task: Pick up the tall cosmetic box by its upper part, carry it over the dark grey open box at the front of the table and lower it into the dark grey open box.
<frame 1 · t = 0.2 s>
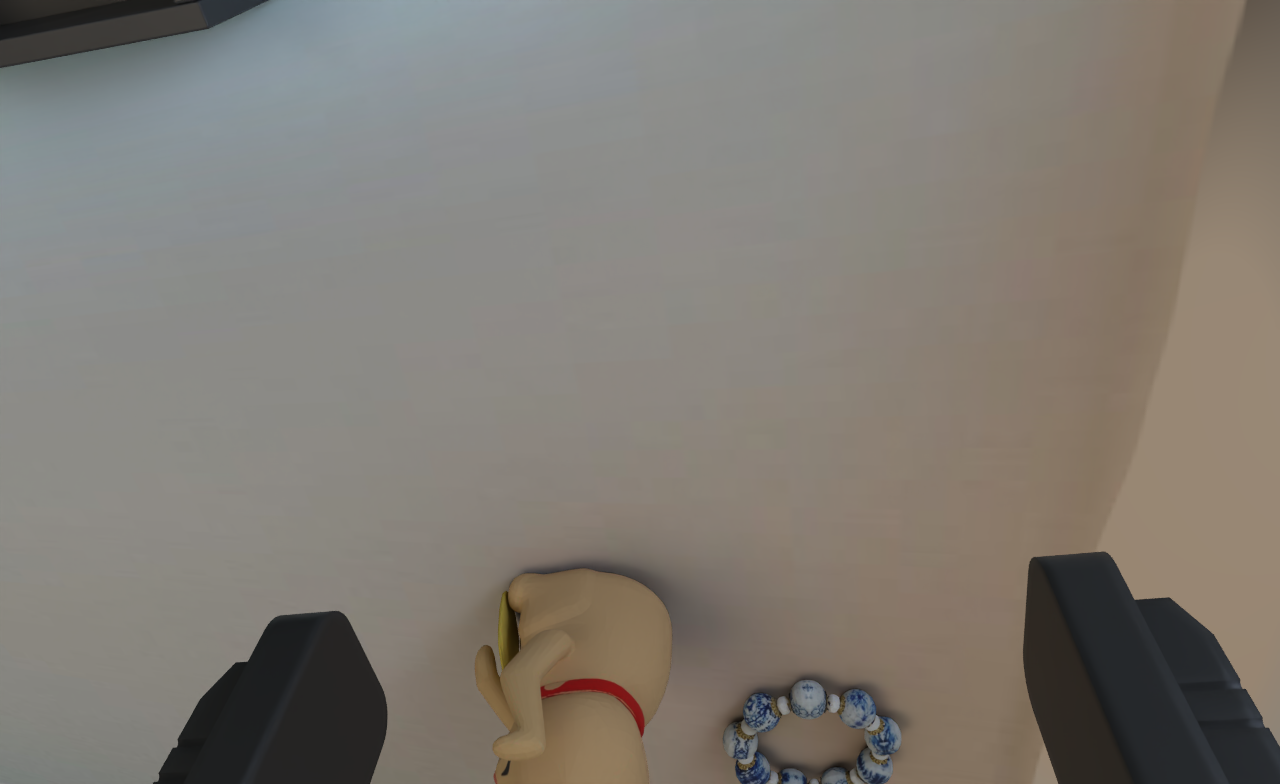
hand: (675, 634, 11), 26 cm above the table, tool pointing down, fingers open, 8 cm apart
figurine: (579, 592, 48), on the table
bracelet: (811, 728, 53), on the table
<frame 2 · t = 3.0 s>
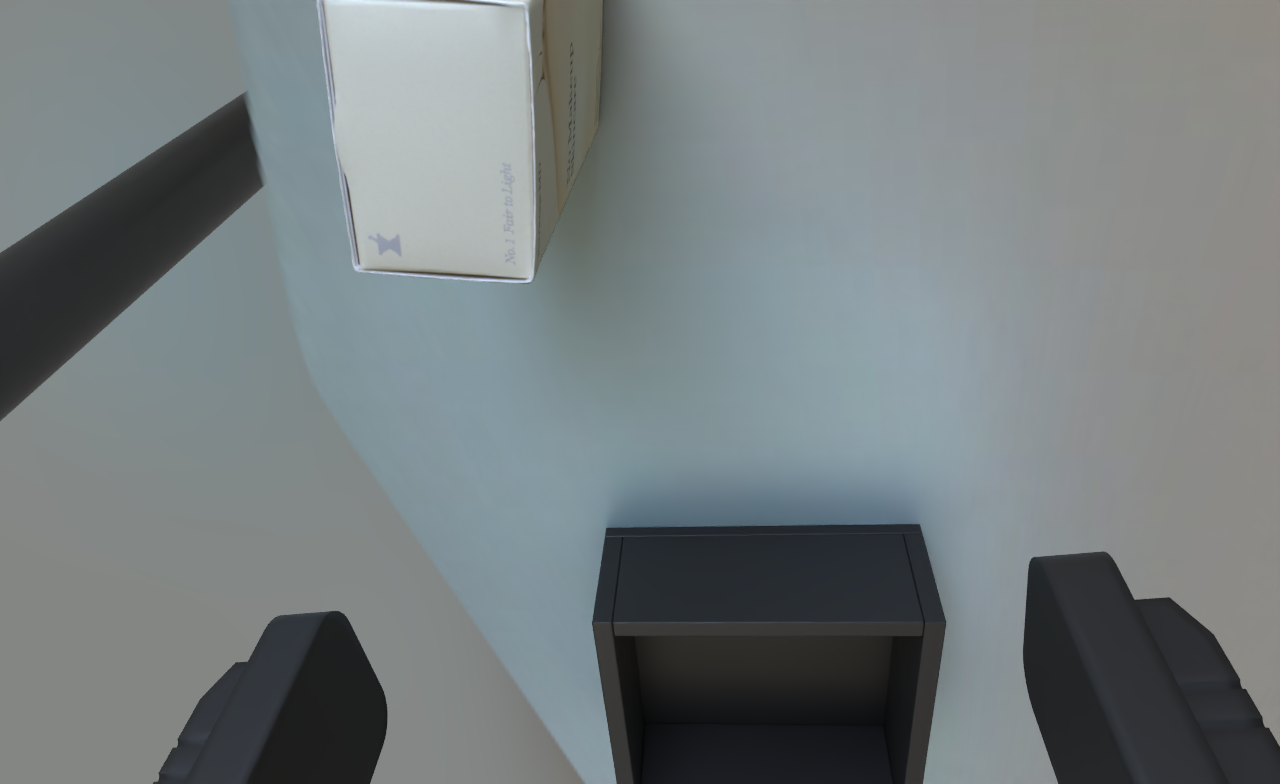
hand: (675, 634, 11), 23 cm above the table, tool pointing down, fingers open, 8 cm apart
cosmetic box: (534, 25, 30), on the table
dark grey open box: (761, 633, 44), on the table
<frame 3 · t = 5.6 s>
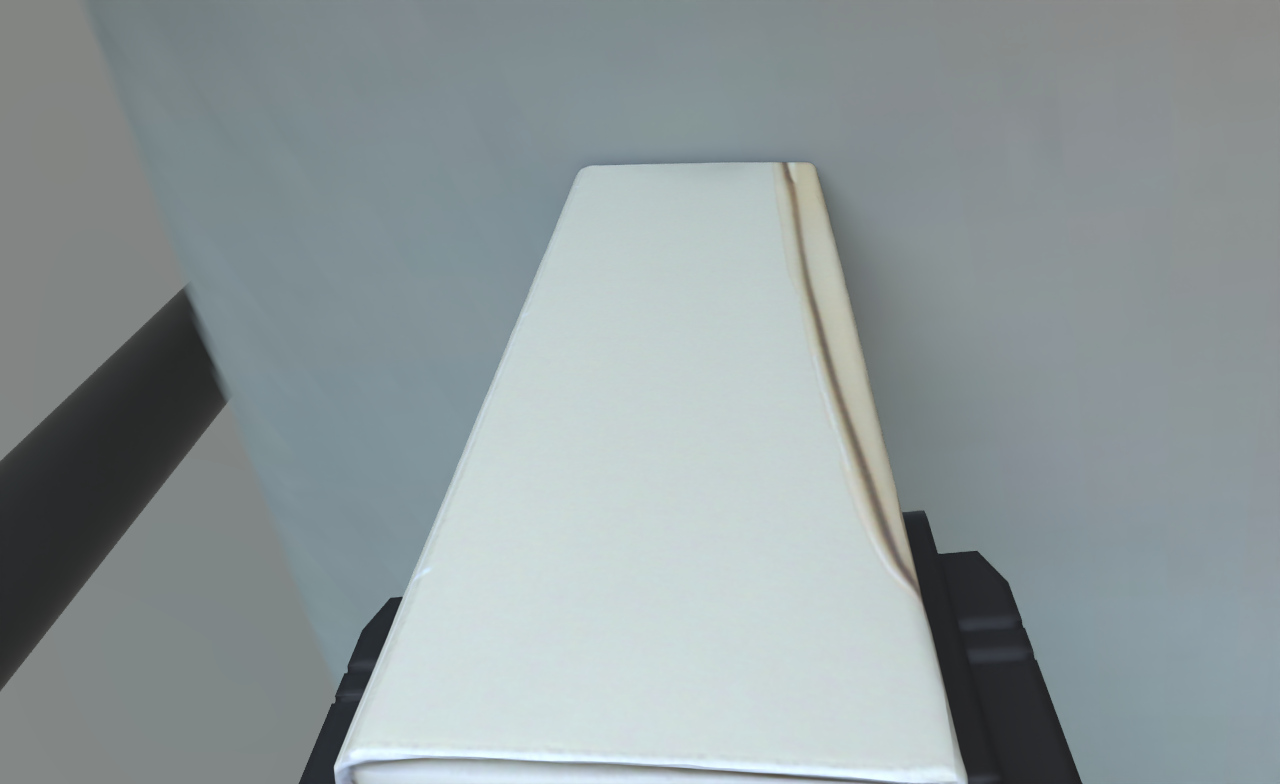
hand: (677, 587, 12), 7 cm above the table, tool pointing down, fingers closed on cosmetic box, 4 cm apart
cosmetic box: (691, 303, 18), on the table, touching gripper
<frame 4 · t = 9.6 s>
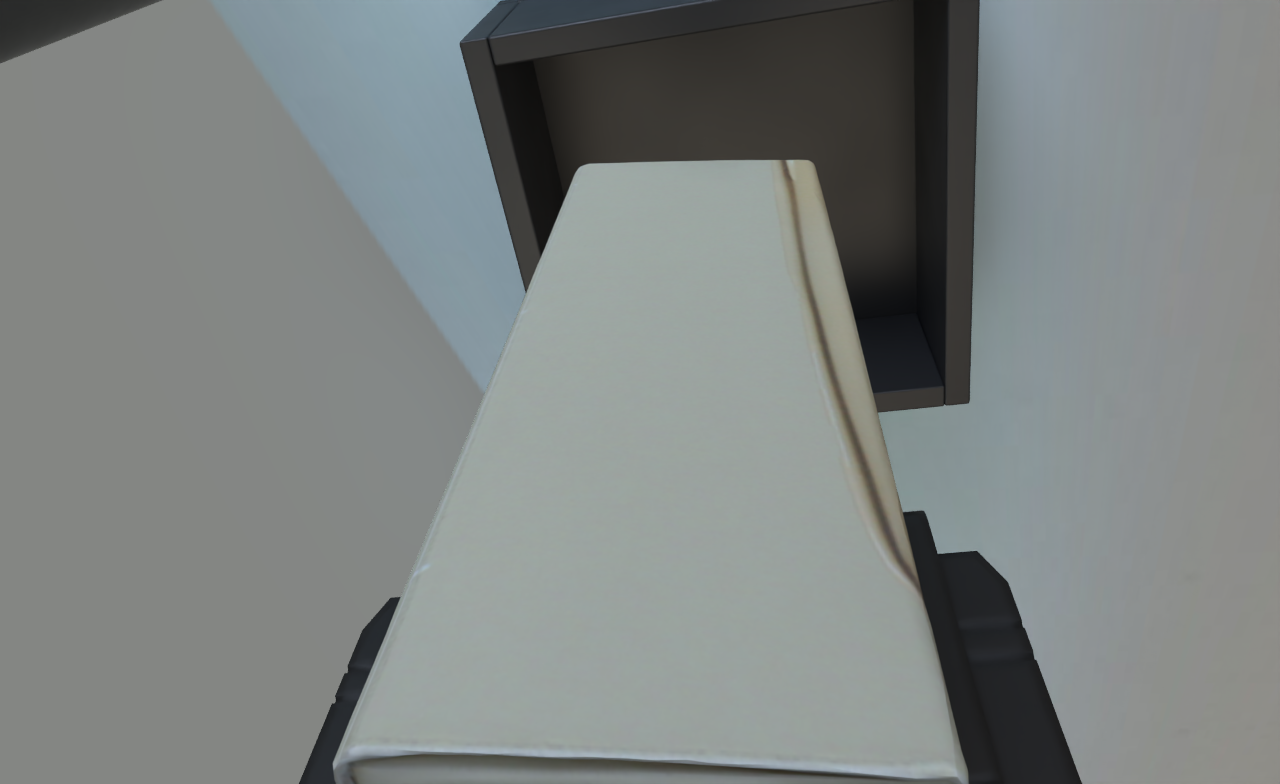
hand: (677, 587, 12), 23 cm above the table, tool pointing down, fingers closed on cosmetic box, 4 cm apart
cosmetic box: (690, 302, 18), point 15 cm above the table, touching gripper
dark grey open box: (735, 174, 32), on the table
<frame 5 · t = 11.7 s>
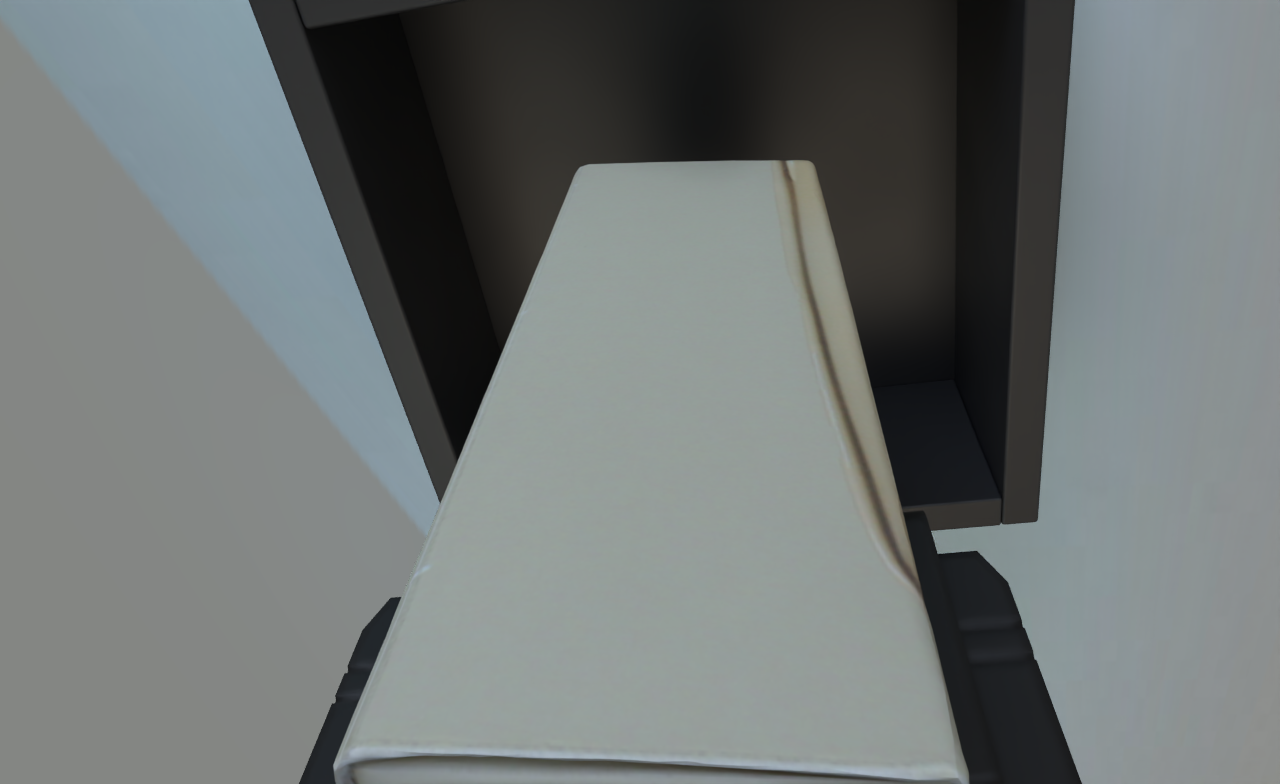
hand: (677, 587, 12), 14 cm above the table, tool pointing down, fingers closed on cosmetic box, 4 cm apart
cosmetic box: (690, 302, 18), point 6 cm above the table, touching gripper
dark grey open box: (700, 190, 23), on the table
when the fingers open (8 cm above the table, at t = 13.5 s): cosmetic box stays where it is, resting on dark grey open box.
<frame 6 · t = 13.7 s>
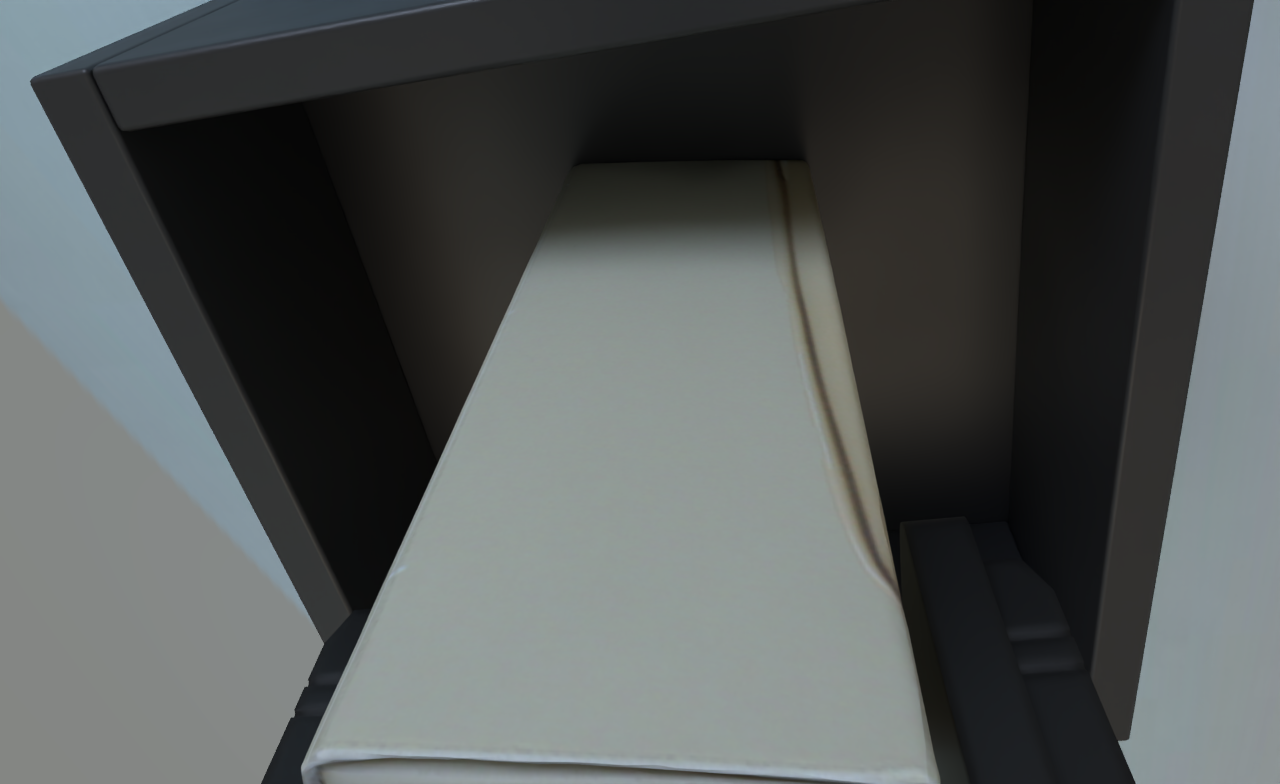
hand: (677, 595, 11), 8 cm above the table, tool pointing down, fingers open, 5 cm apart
cosmetic box: (684, 302, 18), resting on dark grey open box
dark grey open box: (691, 296, 18), on the table
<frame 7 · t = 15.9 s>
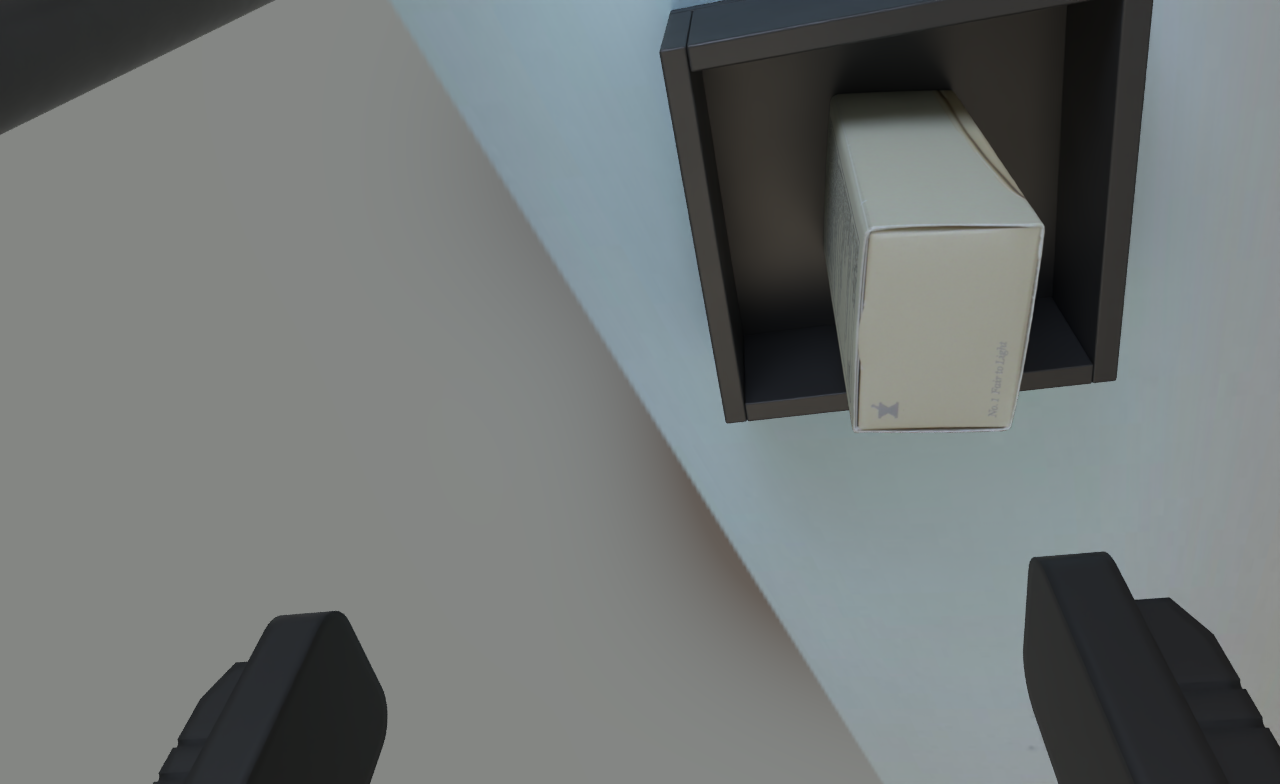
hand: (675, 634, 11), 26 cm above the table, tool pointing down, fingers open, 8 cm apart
cosmetic box: (881, 169, 34), resting on dark grey open box
dark grey open box: (883, 167, 34), on the table
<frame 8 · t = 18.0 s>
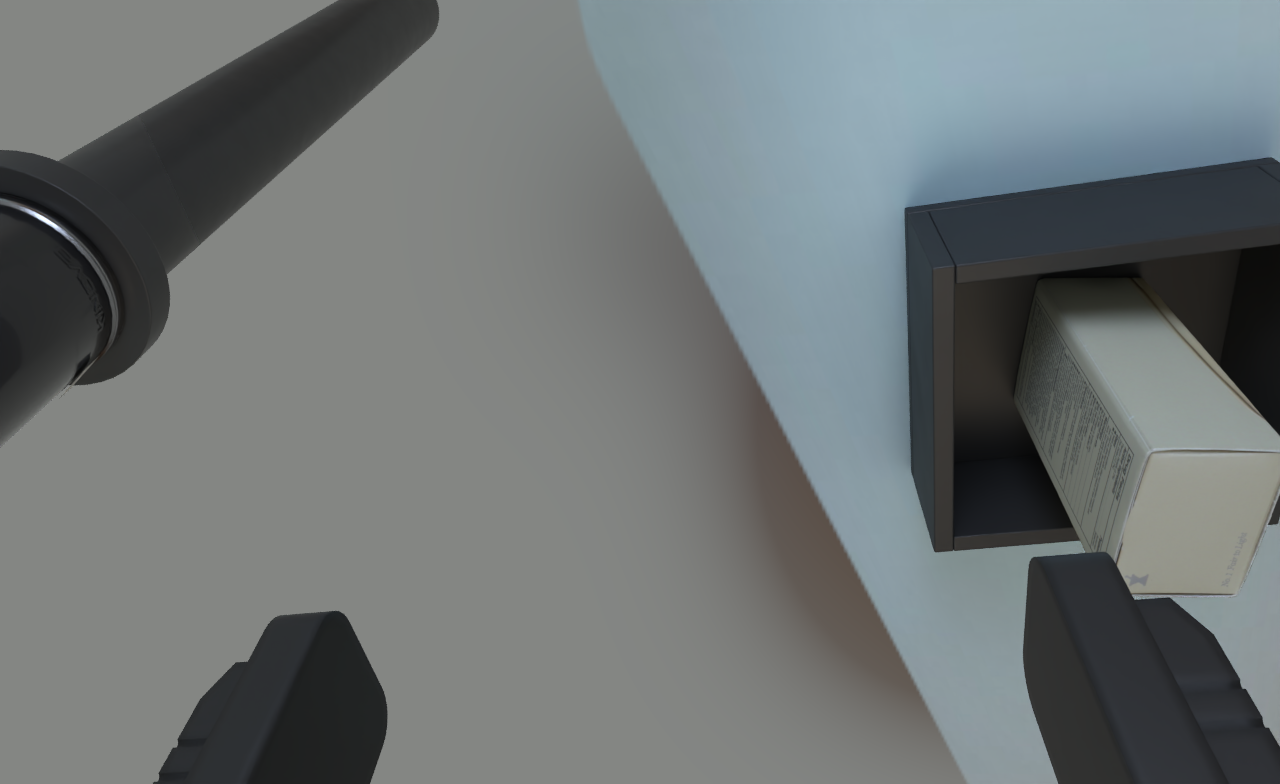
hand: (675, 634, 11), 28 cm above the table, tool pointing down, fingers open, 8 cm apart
cosmetic box: (1070, 336, 39), resting on dark grey open box
dark grey open box: (1070, 332, 40), on the table
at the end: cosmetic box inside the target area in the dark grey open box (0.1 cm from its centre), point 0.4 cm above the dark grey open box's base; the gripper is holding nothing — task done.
